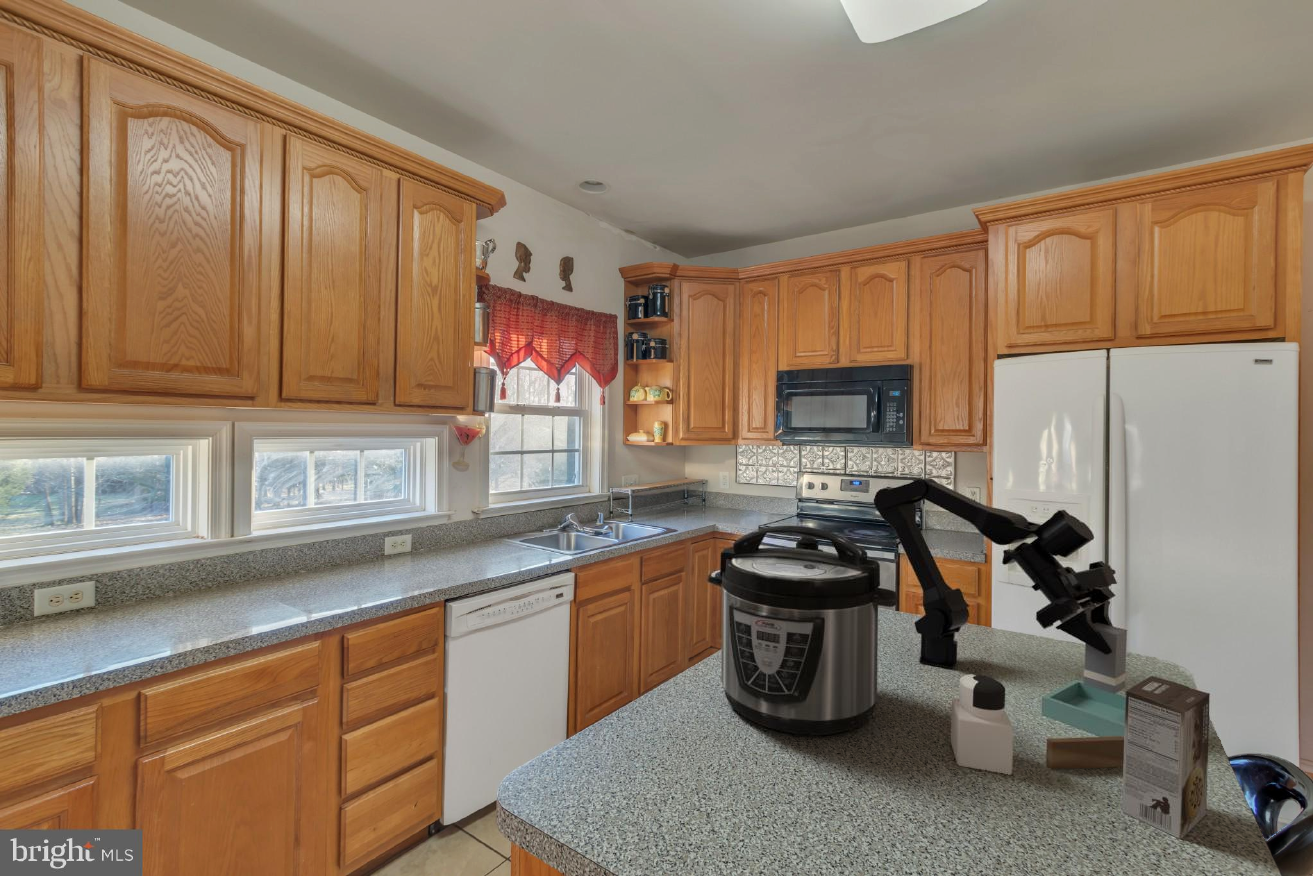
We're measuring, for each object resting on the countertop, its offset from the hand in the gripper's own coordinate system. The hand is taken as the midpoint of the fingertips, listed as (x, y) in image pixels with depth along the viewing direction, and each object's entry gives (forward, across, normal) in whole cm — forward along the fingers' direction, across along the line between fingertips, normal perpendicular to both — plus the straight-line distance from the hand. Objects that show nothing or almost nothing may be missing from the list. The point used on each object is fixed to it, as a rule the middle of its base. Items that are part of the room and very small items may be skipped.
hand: (1115, 650), depth 101 cm
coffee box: (+18, -23, 0) cm, 29 cm away
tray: (+8, 0, +10) cm, 13 cm away
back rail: (+11, -19, +7) cm, 23 cm away
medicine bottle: (+4, -30, +14) cm, 34 cm away
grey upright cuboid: (+4, 0, +6) cm, 7 cm away
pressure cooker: (-15, -41, +33) cm, 55 cm away
